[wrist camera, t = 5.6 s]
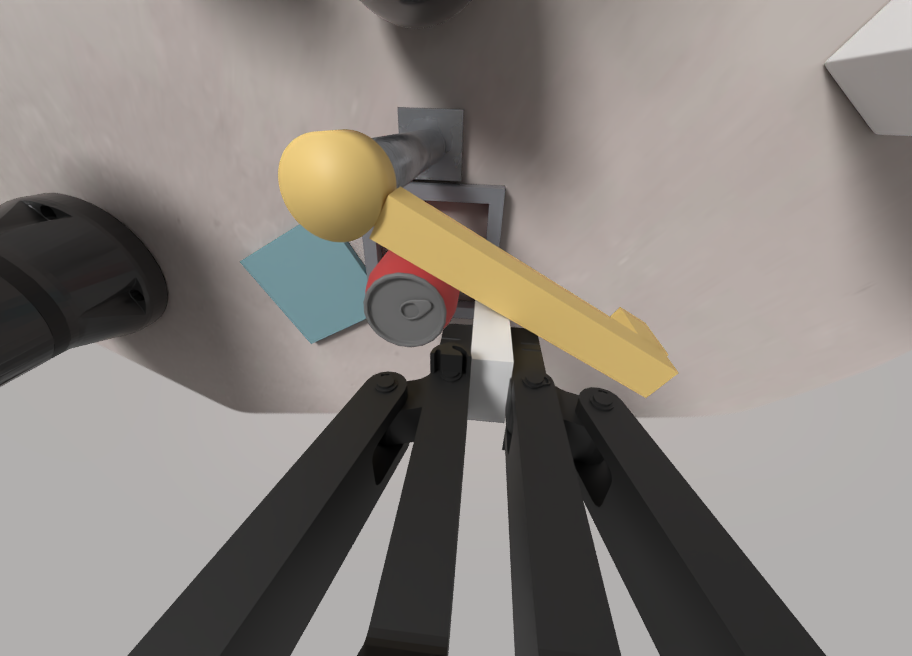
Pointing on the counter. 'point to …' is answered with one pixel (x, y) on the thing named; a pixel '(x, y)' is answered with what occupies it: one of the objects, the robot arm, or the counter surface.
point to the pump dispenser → (416, 11)
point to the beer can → (407, 302)
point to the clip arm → (457, 254)
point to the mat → (311, 281)
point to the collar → (450, 194)
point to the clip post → (426, 145)
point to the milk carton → (879, 70)
